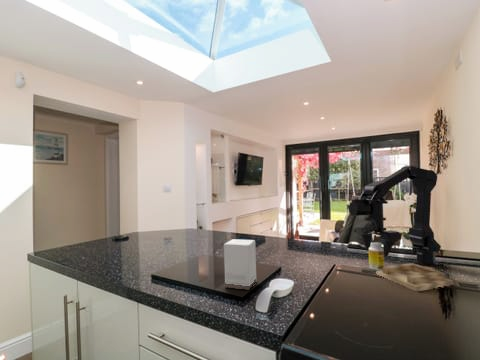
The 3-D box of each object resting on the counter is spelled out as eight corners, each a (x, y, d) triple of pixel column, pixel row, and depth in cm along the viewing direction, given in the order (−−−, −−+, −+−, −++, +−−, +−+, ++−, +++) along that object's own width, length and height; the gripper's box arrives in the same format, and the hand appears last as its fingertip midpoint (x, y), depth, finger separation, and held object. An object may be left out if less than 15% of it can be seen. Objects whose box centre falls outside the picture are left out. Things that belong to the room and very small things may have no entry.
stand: (409, 270, 100) (409, 261, 100) (453, 285, 85) (453, 274, 85) (376, 274, 96) (376, 265, 96) (416, 291, 80) (416, 280, 80)
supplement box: (257, 281, 91) (256, 239, 91) (249, 291, 83) (249, 245, 83) (233, 279, 94) (232, 238, 94) (224, 288, 86) (223, 243, 86)
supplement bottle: (380, 271, 99) (379, 245, 99) (366, 268, 104) (365, 242, 104) (387, 268, 102) (386, 243, 103) (373, 265, 107) (372, 241, 107)
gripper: (343, 213, 110) (344, 249, 110) (377, 218, 92) (378, 261, 92) (364, 212, 113) (365, 247, 113) (401, 217, 96) (403, 258, 95)
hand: (376, 253), depth 103 cm, fingers open, 9 cm apart
